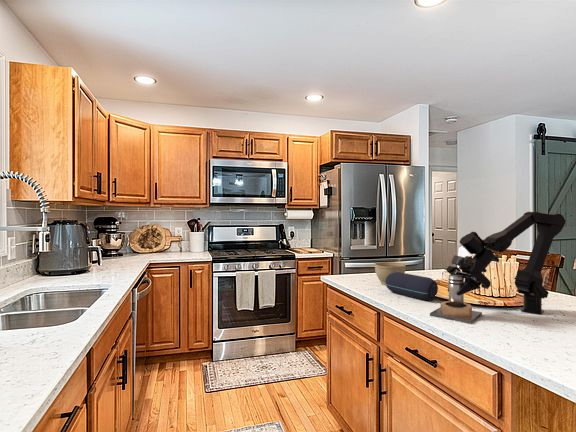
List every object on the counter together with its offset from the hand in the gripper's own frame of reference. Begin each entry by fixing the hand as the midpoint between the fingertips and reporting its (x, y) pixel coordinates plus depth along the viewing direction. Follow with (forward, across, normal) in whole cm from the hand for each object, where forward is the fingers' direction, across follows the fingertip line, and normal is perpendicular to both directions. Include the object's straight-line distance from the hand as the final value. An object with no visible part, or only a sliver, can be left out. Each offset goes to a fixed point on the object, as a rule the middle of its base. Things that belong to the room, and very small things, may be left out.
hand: (452, 293), depth 129 cm
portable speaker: (+6, -31, +6) cm, 32 cm away
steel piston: (+4, 0, +6) cm, 7 cm away
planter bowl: (+5, -58, +7) cm, 58 cm away
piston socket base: (+5, 0, +7) cm, 8 cm away
